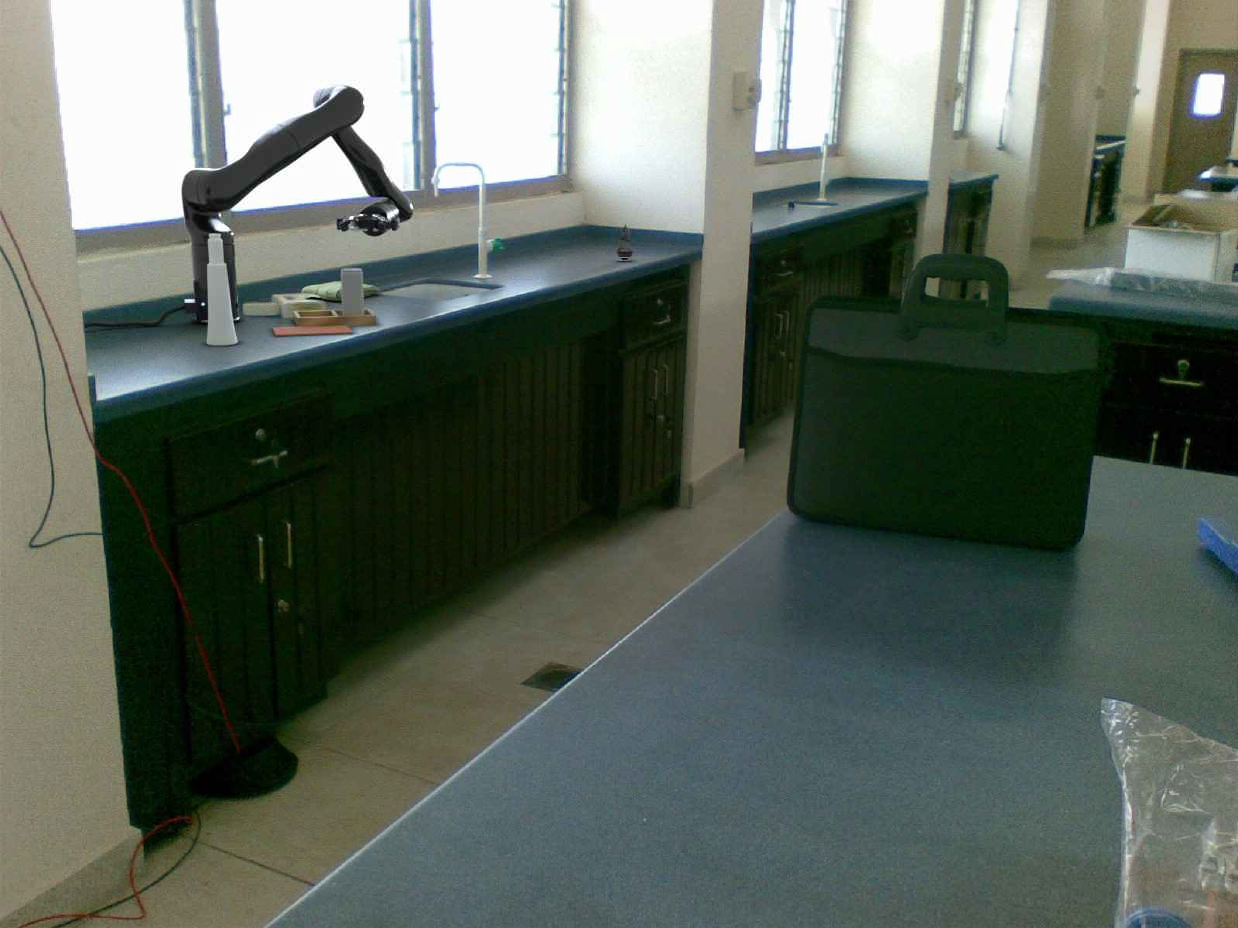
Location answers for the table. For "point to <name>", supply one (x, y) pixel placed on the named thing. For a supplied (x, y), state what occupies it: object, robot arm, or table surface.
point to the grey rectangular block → (352, 291)
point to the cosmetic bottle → (218, 297)
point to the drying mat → (312, 330)
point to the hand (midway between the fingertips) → (361, 227)
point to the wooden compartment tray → (333, 318)
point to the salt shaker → (625, 244)
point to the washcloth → (335, 290)
